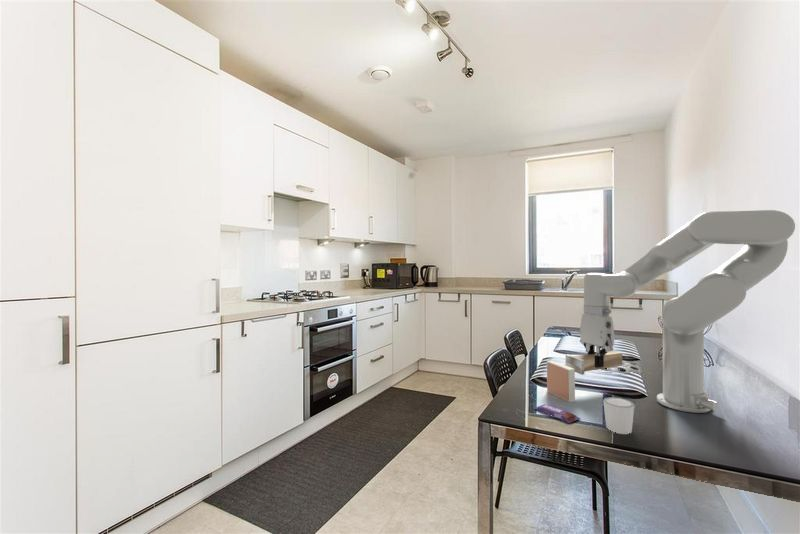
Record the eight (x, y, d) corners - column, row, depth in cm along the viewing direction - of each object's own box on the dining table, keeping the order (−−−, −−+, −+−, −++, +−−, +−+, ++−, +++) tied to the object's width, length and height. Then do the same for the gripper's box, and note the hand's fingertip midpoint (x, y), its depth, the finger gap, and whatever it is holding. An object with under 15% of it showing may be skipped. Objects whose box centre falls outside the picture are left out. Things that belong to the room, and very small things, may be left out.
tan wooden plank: (628, 368, 120) (628, 354, 120) (581, 374, 114) (581, 360, 114) (609, 361, 126) (610, 349, 126) (565, 367, 121) (565, 354, 121)
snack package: (533, 404, 106) (544, 401, 108) (533, 411, 106) (544, 407, 108) (569, 419, 96) (580, 414, 98) (569, 426, 96) (581, 421, 99)
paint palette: (627, 361, 152) (627, 356, 152) (653, 376, 132) (653, 371, 132) (577, 360, 155) (577, 355, 155) (596, 375, 135) (596, 370, 135)
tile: (575, 401, 111) (574, 368, 111) (569, 402, 110) (568, 369, 110) (552, 390, 120) (551, 360, 120) (546, 391, 120) (546, 361, 120)
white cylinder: (625, 423, 96) (625, 396, 96) (640, 435, 89) (640, 407, 89) (598, 422, 97) (598, 396, 96) (611, 435, 90) (610, 407, 90)
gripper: (626, 313, 113) (625, 372, 114) (586, 306, 128) (585, 358, 129) (607, 315, 111) (606, 374, 111) (568, 307, 126) (568, 359, 127)
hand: (595, 365), depth 120 cm, fingers closed on tan wooden plank, 2 cm apart
